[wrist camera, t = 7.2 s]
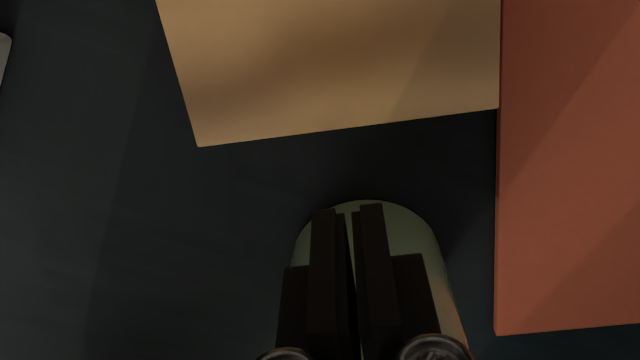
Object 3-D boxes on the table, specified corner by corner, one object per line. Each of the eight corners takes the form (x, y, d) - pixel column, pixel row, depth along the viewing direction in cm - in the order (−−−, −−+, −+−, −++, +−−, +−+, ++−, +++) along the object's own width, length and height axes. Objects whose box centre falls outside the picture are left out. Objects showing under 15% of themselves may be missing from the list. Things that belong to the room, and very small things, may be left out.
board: (499, -116, 17) (504, -116, 17) (825, -170, 17) (841, -171, 16) (493, 327, 27) (496, 336, 27) (698, 308, 26) (706, 317, 26)
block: (177, -56, 18) (142, -42, 15) (469, -104, 18) (503, -101, 14) (219, 104, 21) (197, 147, 18) (470, 70, 20) (499, 108, 17)
